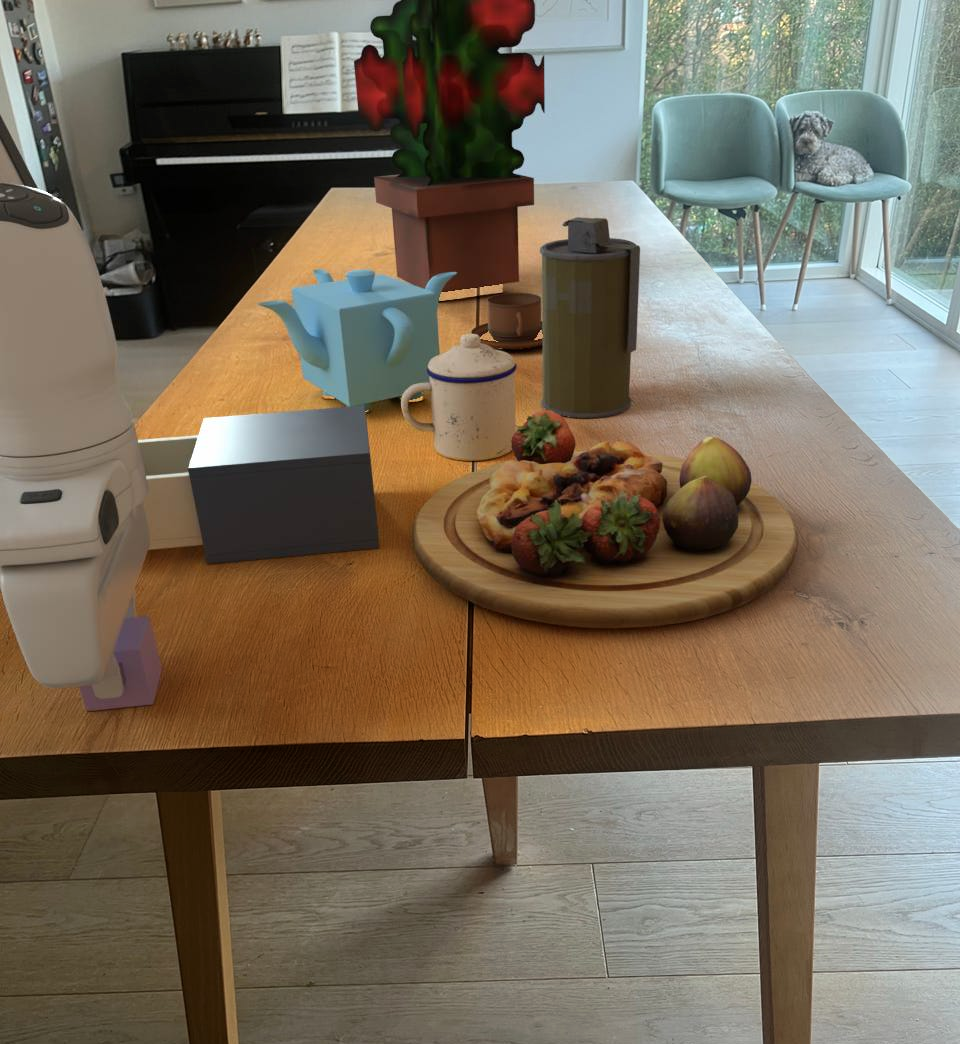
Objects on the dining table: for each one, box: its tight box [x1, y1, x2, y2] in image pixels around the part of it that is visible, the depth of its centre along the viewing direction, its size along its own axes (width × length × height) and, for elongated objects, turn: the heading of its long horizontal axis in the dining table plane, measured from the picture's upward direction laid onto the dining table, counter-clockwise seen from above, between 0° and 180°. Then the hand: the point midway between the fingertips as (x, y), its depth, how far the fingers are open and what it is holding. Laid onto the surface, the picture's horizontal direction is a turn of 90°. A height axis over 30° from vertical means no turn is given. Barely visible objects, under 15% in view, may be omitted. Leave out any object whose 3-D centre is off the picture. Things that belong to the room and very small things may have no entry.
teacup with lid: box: [400, 333, 518, 462], centre depth 104 cm, size 12×9×12 cm
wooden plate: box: [411, 409, 799, 629], centre depth 85 cm, size 32×32×8 cm
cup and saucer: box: [470, 292, 543, 350], centre depth 140 cm, size 12×12×6 cm
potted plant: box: [353, 0, 546, 292], centre depth 160 cm, size 22×22×45 cm
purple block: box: [78, 615, 163, 712], centre depth 69 cm, size 4×4×4 cm
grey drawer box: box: [188, 405, 380, 565], centre depth 90 cm, size 15×13×9 cm
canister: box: [539, 216, 641, 419], centre depth 113 cm, size 11×10×20 cm
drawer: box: [138, 434, 203, 551], centre depth 89 cm, size 18×11×7 cm, turn 98°
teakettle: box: [257, 268, 457, 411], centre depth 120 cm, size 19×19×15 cm
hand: (119, 669), depth 69 cm, fingers closed on purple block, 4 cm apart
